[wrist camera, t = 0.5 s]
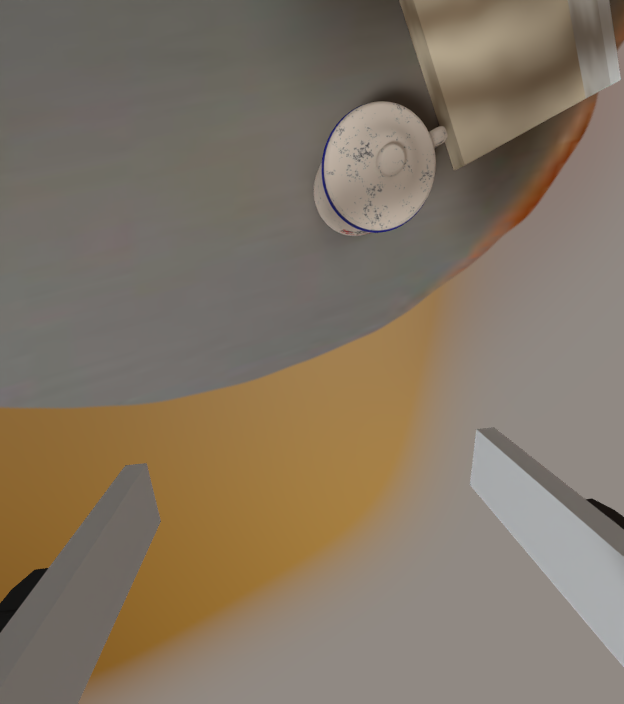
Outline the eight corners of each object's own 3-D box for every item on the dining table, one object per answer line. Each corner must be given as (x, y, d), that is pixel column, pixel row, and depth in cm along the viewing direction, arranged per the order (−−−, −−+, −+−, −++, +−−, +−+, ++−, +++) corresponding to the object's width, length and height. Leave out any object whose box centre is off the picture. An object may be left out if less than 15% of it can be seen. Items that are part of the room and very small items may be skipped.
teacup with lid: (337, 254, 34) (364, 252, 23) (294, 172, 31) (302, 126, 20) (434, 196, 33) (511, 165, 22) (399, 107, 31) (466, 21, 20)
